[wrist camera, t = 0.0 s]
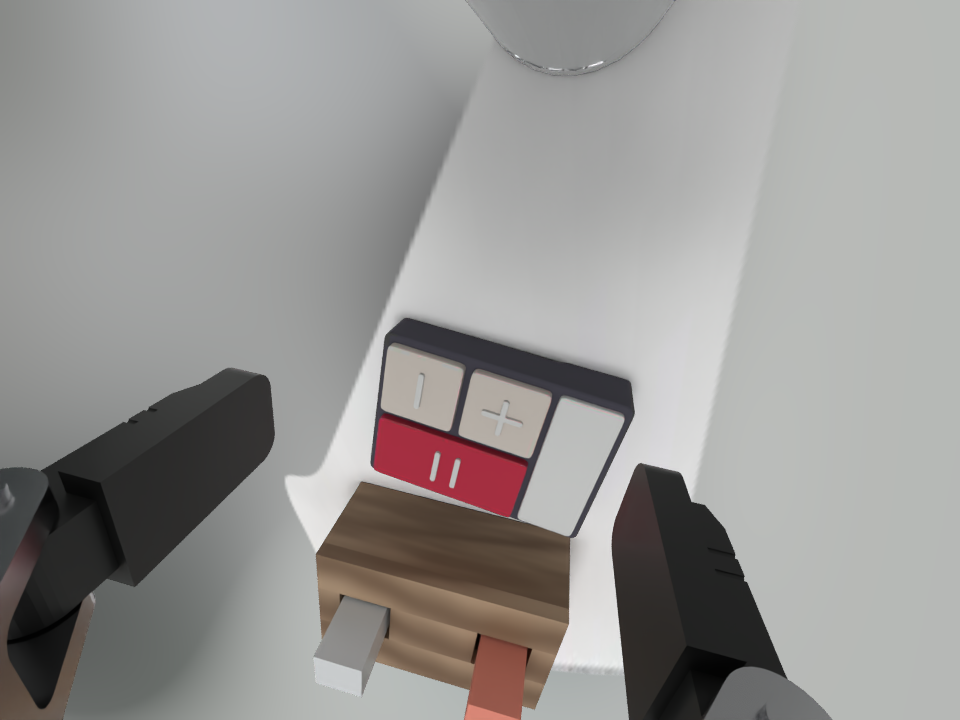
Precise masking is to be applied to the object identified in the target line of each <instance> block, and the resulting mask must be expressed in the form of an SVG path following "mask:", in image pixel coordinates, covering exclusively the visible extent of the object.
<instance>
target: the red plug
mask: <svg viewBox="0 0 960 720" xmlns="http://www.w3.org/2000/svg"><path fill="white" fill-rule="evenodd" d="M527 648H528V647H524V646H521V645H517V644H514V643H510V642H507V641H503V640H500V639H496V638H493V637H489V636H486V635H482V634H480V639H479V644H478V649H477V655H476V660H475V665H474V670H473V675H472V681H471V686H470V691H469V696H468V702H467V707H466V712H465V718H464V720H521V712H522V701H523V690H524V680H525V669H526V659H527Z"/></svg>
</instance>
